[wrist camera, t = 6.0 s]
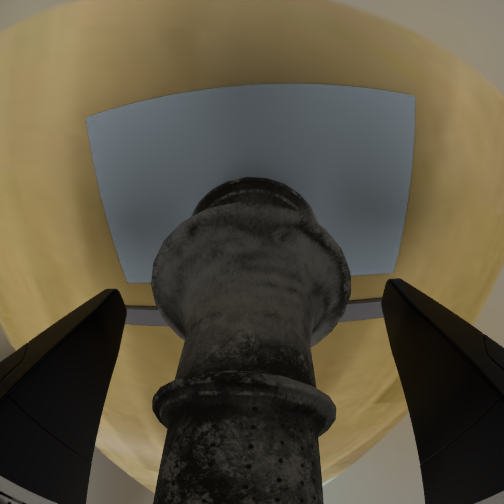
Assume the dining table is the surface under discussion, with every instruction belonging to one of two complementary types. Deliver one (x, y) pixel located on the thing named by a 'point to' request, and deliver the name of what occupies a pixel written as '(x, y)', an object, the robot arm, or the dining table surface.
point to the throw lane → (258, 167)
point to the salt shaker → (247, 346)
